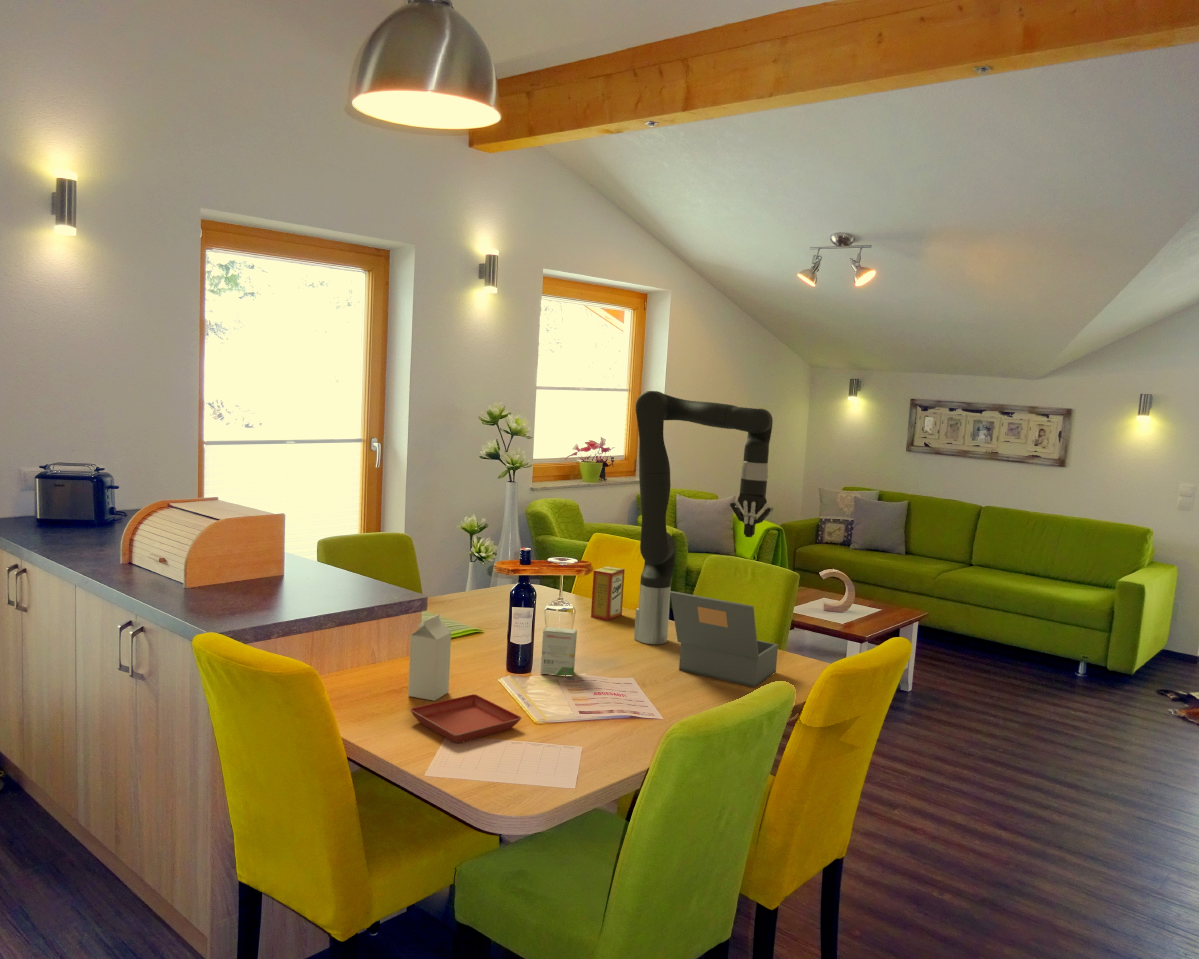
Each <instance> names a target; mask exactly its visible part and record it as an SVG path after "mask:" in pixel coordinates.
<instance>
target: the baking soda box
mask: <svg viewBox="0 0 1199 959" xmlns="http://www.w3.org/2000/svg"><path fill="white" fill-rule="evenodd" d="M624 581H625V568H621V567H620V568H619V567H613V566H608V565H607V566H604V567H601V568H598V569H594V570H593V578H592V590H591V591H592V594H591V607H590V608H591V611H590V613H591V614H590V618H593V619H596V620H597V619H598V620H603V621H611V620H614V619H616V618H619V617H621V616H622V614H623V603H624V602H623V601H624V600H623V599H624V586H625V585H624V584H625V582H624Z"/></svg>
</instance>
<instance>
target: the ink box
mask: <svg viewBox="0 0 1199 959" xmlns="http://www.w3.org/2000/svg"><path fill="white" fill-rule="evenodd" d="M577 635H578V629H572V628H563V627H552V626H546V627H545V628H544V629H543V631H542V642H541V643H542V644H541V657H540V659H541V662H540V675H541V674H554V675H565V676H566V675H573V676H574V673H575V662H576V651H577V650H576V649H577Z"/></svg>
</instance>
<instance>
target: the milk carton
mask: <svg viewBox="0 0 1199 959" xmlns="http://www.w3.org/2000/svg"><path fill="white" fill-rule="evenodd" d="M417 626H418V627H419V628H418V629H417V630H415V631H414V632H413V633H411V635H410V639H409V641H410V642H409V644H410V645H409V664H408V665H409V668H408V670H409V671H408V692H407V695H408V697H411V698H412V697H413V698H417V699H421V700H423V699H424V700H427V701H433V702H435V701H437V700H439V699H441V697H444V696H445V695H447V694H448V693H449V690H450V671H451V670H450V668H451V667H450V666H451V646H452V632H451V630H450V629H449V628H448V627H447V626H446V624H445V623H443V621H442V620H441V619H440V614H439V613H438V614H436V615H434V616H431V617H429V618H426V619H425V620H423V621H422V622H420V623H419V624H418V625H417Z"/></svg>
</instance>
